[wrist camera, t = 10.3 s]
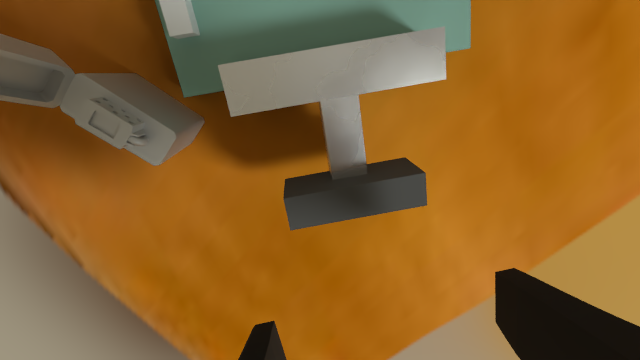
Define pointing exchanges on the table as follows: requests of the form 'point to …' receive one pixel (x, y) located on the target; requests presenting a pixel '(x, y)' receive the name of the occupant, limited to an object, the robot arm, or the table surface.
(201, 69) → the press
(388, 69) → the ram
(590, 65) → the table surface
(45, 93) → the lighter
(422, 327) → the table surface
